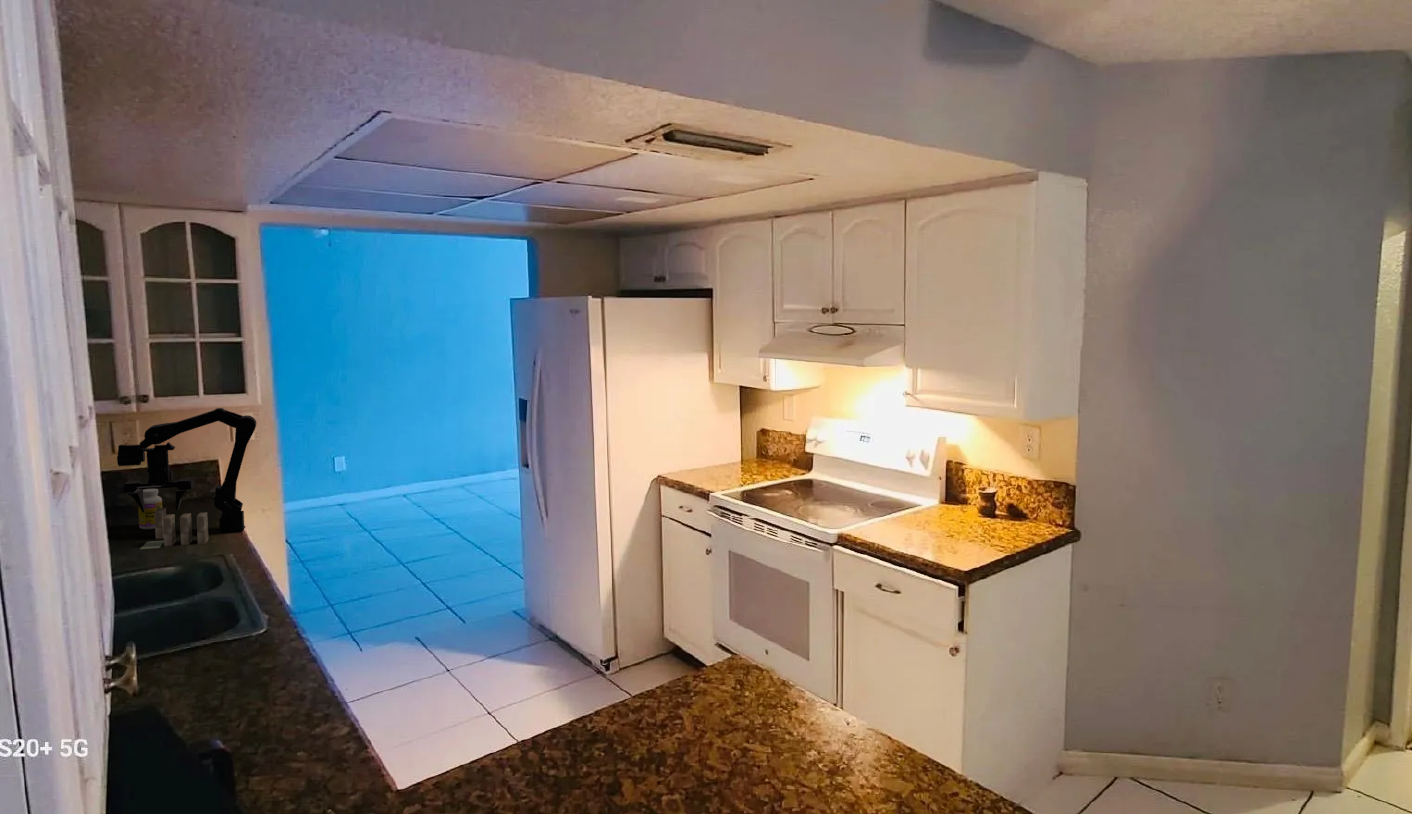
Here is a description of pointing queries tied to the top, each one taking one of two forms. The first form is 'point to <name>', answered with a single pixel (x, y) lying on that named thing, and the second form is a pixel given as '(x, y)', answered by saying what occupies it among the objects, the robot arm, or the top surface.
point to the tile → (159, 522)
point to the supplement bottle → (149, 508)
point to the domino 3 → (202, 528)
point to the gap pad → (152, 545)
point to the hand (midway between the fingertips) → (160, 511)
